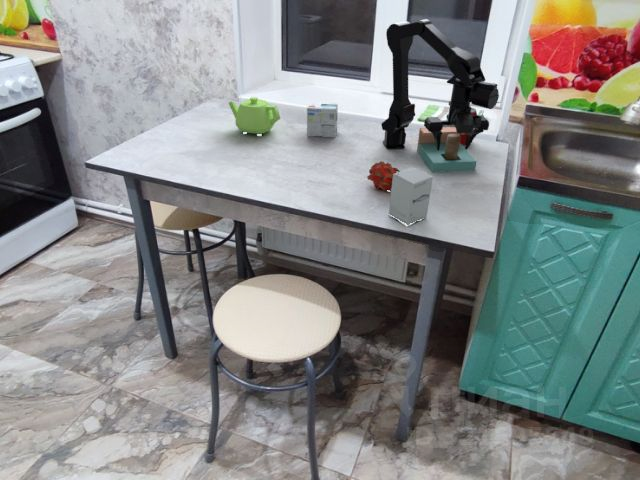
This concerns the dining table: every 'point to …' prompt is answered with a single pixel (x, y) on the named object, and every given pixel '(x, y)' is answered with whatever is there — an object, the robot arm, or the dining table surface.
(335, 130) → the light bulb box
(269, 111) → the teapot
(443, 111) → the dish towel
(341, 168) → the dining table surface
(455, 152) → the walnut peg
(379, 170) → the dragon fruit
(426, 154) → the socket plate
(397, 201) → the supplement box
